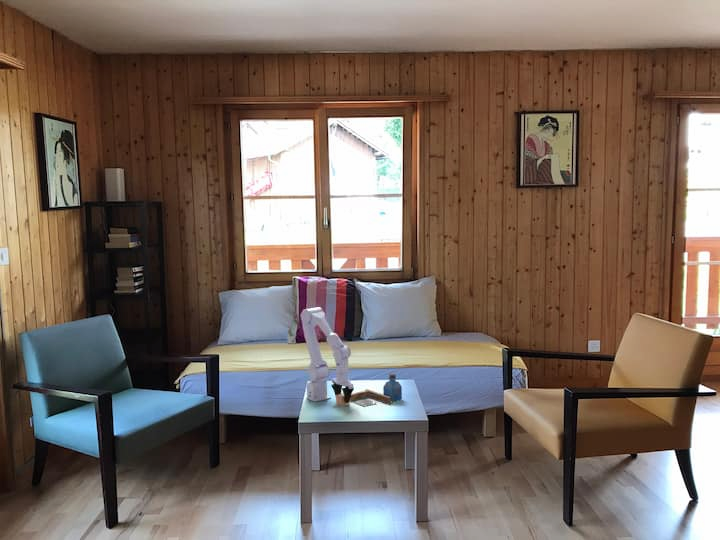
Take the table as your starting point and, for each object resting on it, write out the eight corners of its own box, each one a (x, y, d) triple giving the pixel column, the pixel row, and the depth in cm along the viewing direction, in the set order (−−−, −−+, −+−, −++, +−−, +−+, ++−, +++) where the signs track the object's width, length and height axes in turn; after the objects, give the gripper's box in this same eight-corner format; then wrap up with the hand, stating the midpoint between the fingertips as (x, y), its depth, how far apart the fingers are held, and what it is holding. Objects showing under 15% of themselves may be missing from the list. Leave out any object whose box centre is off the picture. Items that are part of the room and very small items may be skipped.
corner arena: (369, 408, 284) (369, 402, 283) (346, 400, 298) (346, 394, 298) (390, 403, 291) (390, 397, 291) (367, 395, 306) (367, 389, 305)
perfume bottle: (392, 396, 302) (392, 372, 301) (401, 399, 298) (401, 374, 297) (383, 399, 298) (383, 375, 297) (392, 402, 293) (392, 377, 292)
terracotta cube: (341, 406, 288) (341, 396, 288) (336, 404, 292) (335, 394, 292) (349, 404, 291) (349, 394, 291) (343, 402, 295) (343, 392, 294)
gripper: (358, 373, 287) (358, 402, 288) (340, 368, 299) (340, 395, 300) (346, 376, 283) (346, 405, 284) (328, 370, 294) (328, 398, 295)
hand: (342, 400), depth 292 cm, fingers open, 6 cm apart
